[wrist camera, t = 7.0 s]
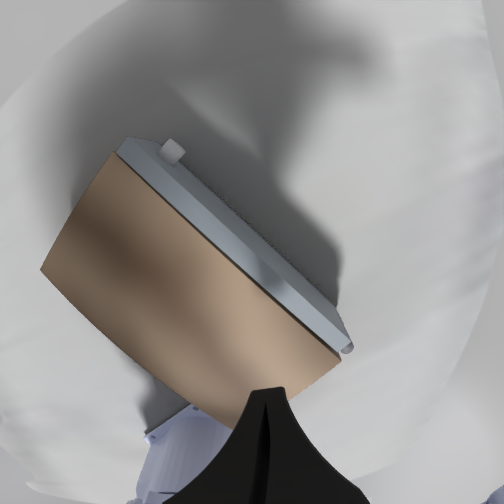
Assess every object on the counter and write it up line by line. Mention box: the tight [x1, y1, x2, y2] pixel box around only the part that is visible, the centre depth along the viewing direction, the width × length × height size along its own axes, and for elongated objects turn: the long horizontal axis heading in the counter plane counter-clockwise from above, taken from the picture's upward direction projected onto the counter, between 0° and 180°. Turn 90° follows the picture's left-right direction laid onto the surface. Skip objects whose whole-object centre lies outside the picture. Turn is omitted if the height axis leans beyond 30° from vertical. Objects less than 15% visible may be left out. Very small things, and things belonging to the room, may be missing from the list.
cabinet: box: [40, 152, 341, 430], centre depth 18 cm, size 9×17×4 cm, turn 46°
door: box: [116, 136, 354, 354], centre depth 17 cm, size 2×17×4 cm, turn 47°
